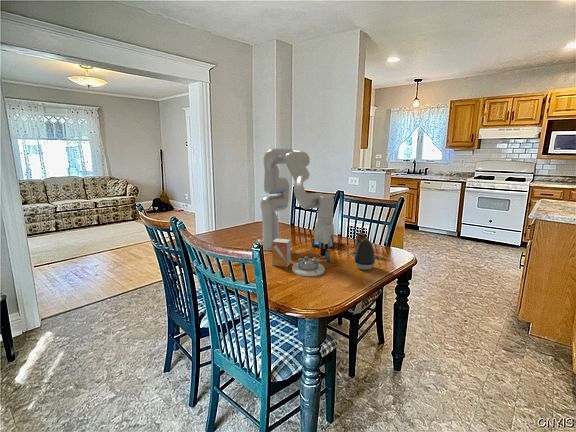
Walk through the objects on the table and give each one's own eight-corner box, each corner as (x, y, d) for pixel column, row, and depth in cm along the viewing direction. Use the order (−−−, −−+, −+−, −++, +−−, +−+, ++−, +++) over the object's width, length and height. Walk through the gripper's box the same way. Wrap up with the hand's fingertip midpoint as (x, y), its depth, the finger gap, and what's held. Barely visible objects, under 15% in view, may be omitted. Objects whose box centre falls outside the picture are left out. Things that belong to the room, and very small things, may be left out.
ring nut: (300, 271, 150) (301, 255, 149) (296, 264, 160) (296, 249, 158) (333, 269, 154) (333, 253, 152) (326, 262, 163) (327, 247, 162)
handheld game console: (313, 240, 209) (313, 227, 207) (333, 241, 207) (333, 228, 206) (311, 247, 194) (311, 233, 192) (333, 248, 192) (334, 234, 190)
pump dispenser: (361, 263, 167) (363, 235, 164) (378, 268, 159) (380, 239, 156) (349, 267, 161) (350, 238, 157) (366, 273, 153) (368, 243, 150)
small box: (272, 265, 162) (272, 241, 160) (276, 261, 168) (276, 238, 166) (287, 267, 160) (287, 242, 157) (290, 263, 166) (291, 239, 163)
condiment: (369, 254, 181) (370, 234, 179) (358, 257, 177) (360, 236, 174) (360, 251, 187) (361, 231, 185) (349, 253, 183) (350, 233, 180)
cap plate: (287, 273, 152) (287, 270, 152) (298, 262, 167) (298, 260, 166) (319, 278, 146) (319, 275, 146) (328, 267, 161) (328, 264, 160)
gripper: (309, 218, 160) (308, 252, 164) (330, 224, 149) (328, 261, 152) (320, 216, 165) (319, 250, 169) (341, 222, 153) (339, 258, 157)
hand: (323, 255), depth 160 cm, fingers closed
